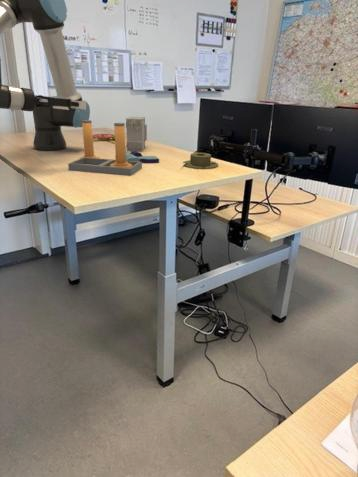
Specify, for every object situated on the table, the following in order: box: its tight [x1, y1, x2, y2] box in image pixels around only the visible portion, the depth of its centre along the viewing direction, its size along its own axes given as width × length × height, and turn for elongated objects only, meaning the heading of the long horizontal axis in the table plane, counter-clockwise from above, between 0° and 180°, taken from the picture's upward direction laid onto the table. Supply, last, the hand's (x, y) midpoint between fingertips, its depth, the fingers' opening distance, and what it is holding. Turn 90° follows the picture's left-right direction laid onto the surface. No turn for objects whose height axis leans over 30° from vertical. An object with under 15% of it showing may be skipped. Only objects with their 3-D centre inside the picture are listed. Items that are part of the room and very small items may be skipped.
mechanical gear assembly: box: [92, 133, 115, 145], centre depth 196 cm, size 30×4×15 cm
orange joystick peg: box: [79, 119, 100, 159], centre depth 143 cm, size 8×8×17 cm
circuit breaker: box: [125, 116, 148, 153], centre depth 174 cm, size 8×14×15 cm, turn 174°
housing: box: [67, 156, 143, 176], centre depth 132 cm, size 24×12×4 cm, turn 77°
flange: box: [182, 152, 219, 170], centre depth 148 cm, size 5×15×15 cm
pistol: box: [114, 150, 160, 164], centre depth 148 cm, size 4×16×15 cm
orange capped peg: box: [110, 122, 132, 168], centre depth 128 cm, size 8×8×17 cm
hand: (76, 106), depth 138 cm, fingers open, 13 cm apart
